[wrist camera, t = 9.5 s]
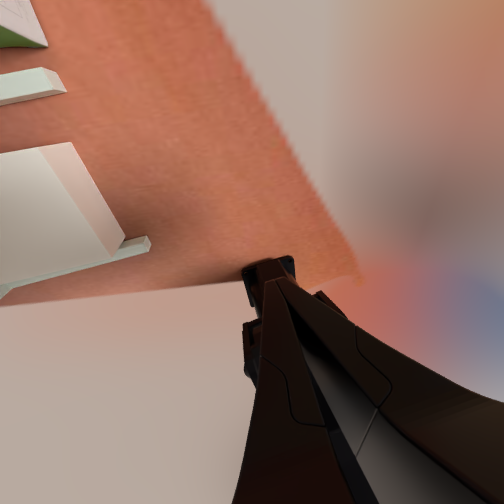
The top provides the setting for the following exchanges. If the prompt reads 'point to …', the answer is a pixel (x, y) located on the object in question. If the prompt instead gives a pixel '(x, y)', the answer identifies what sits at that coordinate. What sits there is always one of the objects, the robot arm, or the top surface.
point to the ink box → (20, 25)
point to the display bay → (37, 86)
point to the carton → (51, 214)
